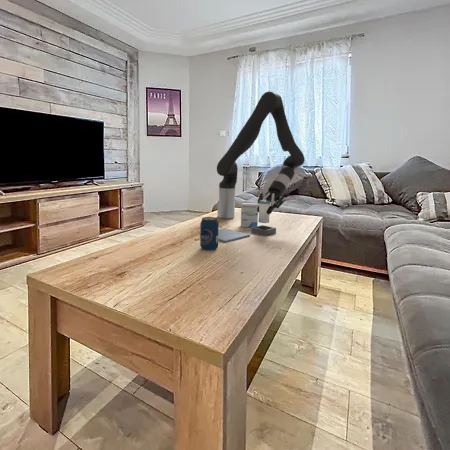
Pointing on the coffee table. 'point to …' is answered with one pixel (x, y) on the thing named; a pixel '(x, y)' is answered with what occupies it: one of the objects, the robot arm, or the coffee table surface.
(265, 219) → the ball
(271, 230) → the sleeve
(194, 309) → the coffee table surface
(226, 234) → the slate board
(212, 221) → the soda can
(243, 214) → the ink box
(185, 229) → the coffee table surface
